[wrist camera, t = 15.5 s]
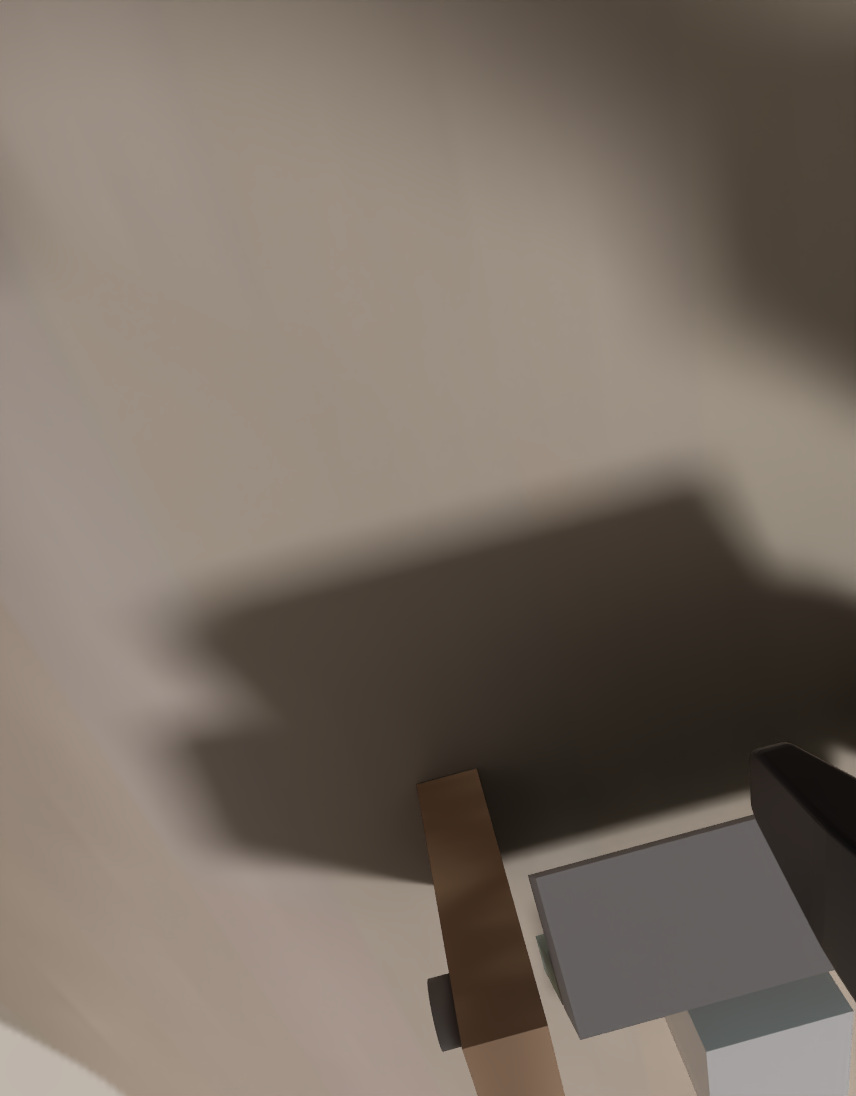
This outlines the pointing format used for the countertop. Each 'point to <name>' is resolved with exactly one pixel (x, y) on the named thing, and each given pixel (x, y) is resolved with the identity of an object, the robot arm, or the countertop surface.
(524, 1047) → the trapdoor frame
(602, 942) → the trapdoor
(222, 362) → the countertop surface
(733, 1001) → the grey cube
